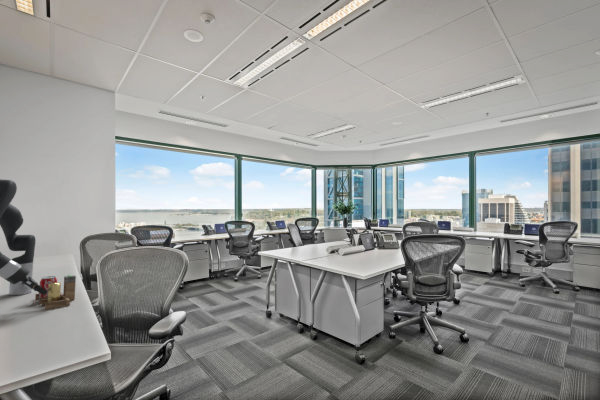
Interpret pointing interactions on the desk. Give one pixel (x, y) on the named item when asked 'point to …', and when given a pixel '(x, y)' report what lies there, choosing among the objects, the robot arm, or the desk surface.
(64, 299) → the wooden slotted rack
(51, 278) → the soda can
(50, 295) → the billet
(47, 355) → the desk surface
